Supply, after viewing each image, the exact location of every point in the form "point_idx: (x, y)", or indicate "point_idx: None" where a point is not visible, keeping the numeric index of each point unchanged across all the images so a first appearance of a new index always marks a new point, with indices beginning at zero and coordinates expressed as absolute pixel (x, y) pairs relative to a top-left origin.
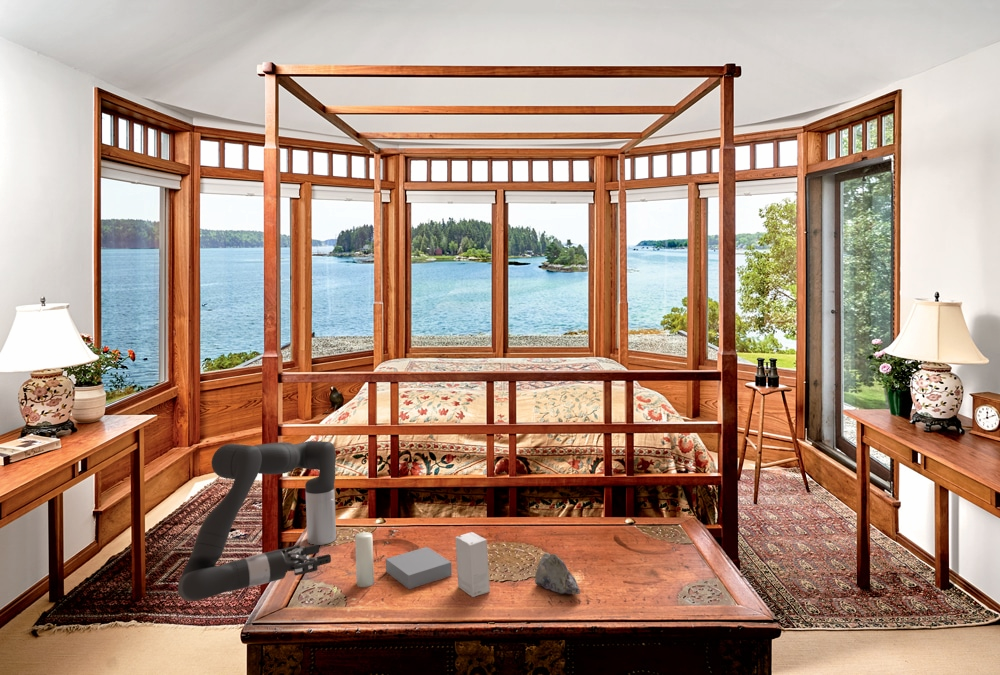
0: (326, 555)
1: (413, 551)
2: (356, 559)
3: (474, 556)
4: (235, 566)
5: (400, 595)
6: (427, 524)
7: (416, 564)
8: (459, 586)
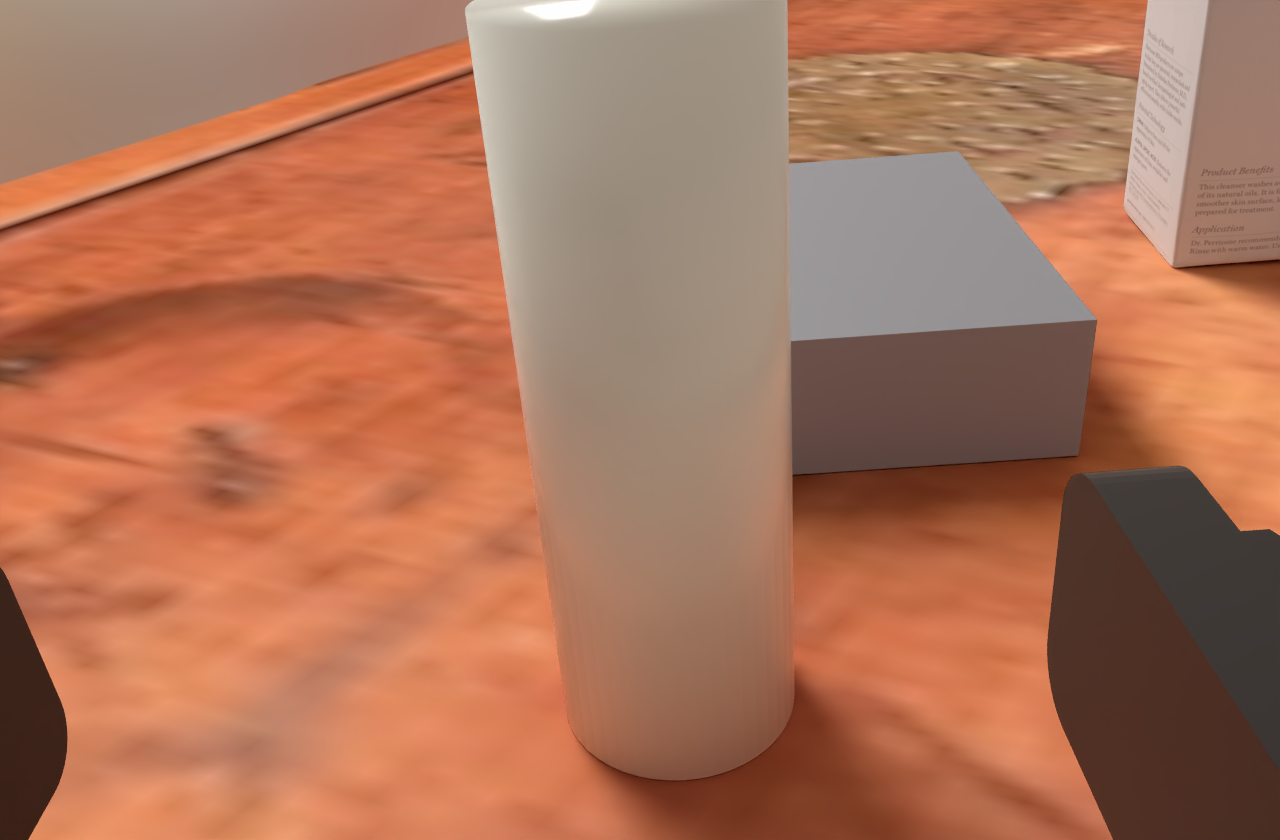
0: (1238, 532)
1: None
2: (652, 441)
3: None
4: None
5: None
6: (72, 201)
7: (862, 255)
8: (1208, 252)
